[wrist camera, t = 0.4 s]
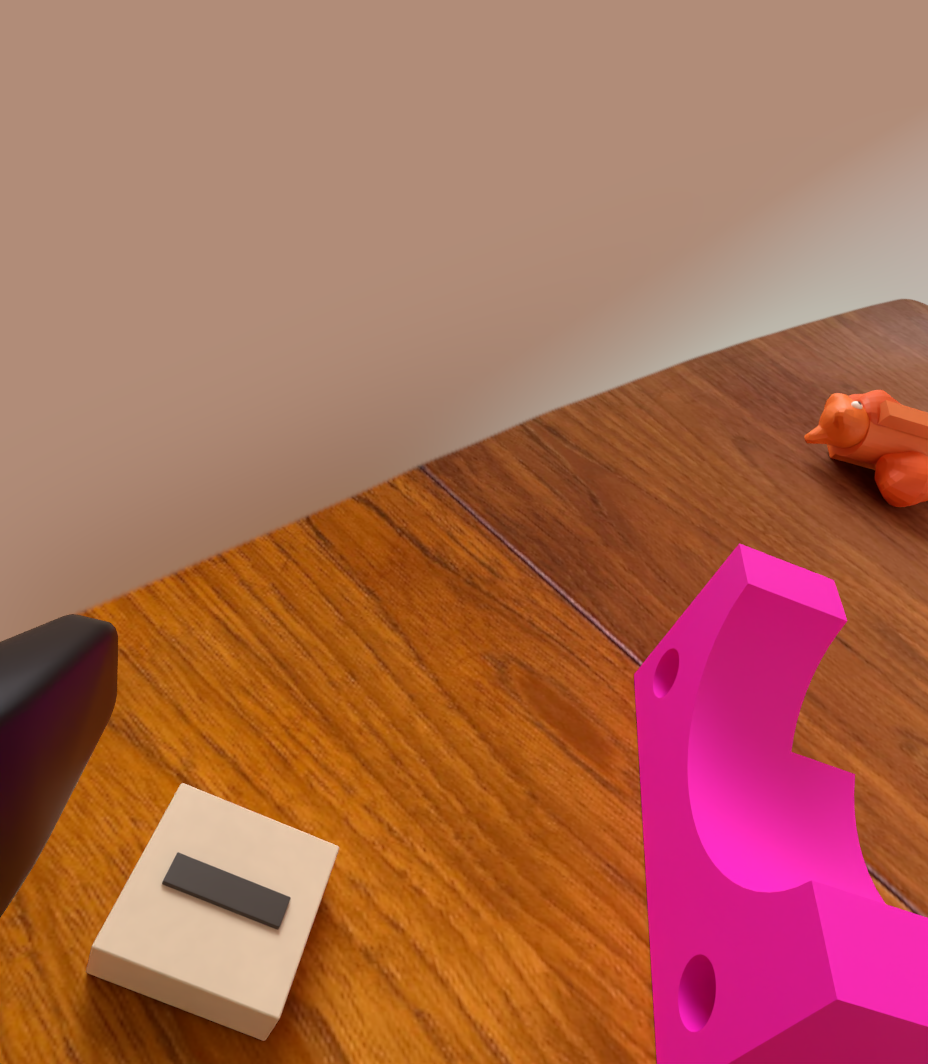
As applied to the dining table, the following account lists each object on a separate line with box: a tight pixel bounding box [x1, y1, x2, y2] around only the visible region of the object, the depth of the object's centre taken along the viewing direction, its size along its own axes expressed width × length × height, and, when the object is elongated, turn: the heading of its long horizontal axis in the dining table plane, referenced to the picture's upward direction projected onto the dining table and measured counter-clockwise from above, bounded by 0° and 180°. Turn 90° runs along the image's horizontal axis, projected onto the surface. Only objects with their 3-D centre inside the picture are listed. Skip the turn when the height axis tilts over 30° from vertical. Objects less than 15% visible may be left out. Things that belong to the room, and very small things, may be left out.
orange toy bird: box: [805, 390, 928, 507], centre depth 55 cm, size 5×8×12 cm
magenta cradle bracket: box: [634, 544, 928, 1064], centre depth 27 cm, size 15×6×8 cm, turn 173°
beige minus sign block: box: [86, 783, 339, 1041], centre depth 22 cm, size 4×4×2 cm
